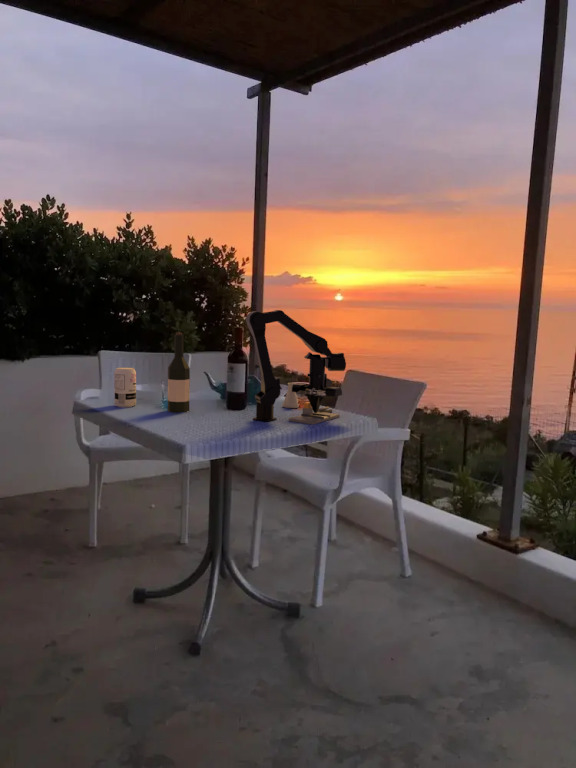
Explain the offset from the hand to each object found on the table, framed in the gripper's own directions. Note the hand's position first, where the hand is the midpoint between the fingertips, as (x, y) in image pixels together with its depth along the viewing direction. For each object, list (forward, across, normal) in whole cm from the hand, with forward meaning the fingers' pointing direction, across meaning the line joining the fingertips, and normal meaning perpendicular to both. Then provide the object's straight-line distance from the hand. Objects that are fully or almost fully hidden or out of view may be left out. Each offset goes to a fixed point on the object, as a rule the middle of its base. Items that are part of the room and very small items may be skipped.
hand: (315, 412), depth 221 cm
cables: (+2, +4, -12) cm, 13 cm away
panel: (+2, 0, +1) cm, 2 cm away
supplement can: (+2, +71, +28) cm, 77 cm away
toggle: (+1, +4, 0) cm, 4 cm away
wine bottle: (+2, +48, +22) cm, 53 cm away
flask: (+2, +21, -16) cm, 26 cm away
